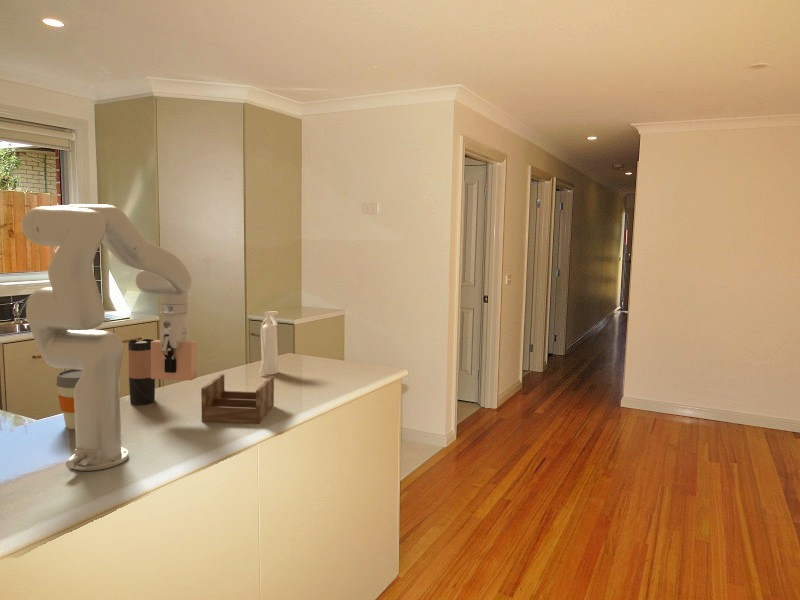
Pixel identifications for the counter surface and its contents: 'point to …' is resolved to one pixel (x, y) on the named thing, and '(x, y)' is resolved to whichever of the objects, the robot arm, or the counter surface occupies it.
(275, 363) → the white spray bottle
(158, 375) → the peach rectangular block
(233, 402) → the wooden crate
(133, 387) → the travel mug
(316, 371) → the counter surface
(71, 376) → the reusable coffee cup
